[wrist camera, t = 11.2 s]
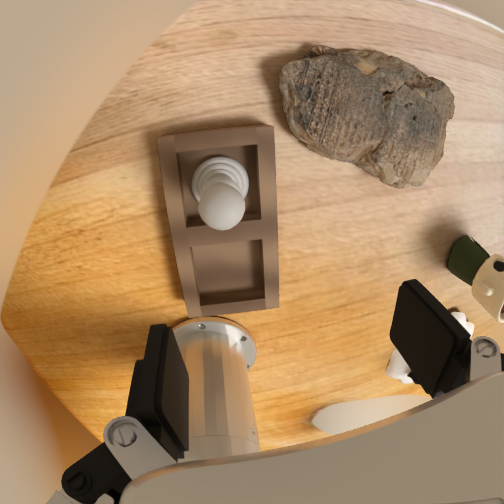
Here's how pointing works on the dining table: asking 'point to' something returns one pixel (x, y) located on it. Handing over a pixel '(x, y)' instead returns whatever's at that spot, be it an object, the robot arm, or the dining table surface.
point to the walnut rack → (223, 241)
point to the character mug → (480, 274)
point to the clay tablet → (368, 112)
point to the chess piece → (220, 191)
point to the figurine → (400, 367)
